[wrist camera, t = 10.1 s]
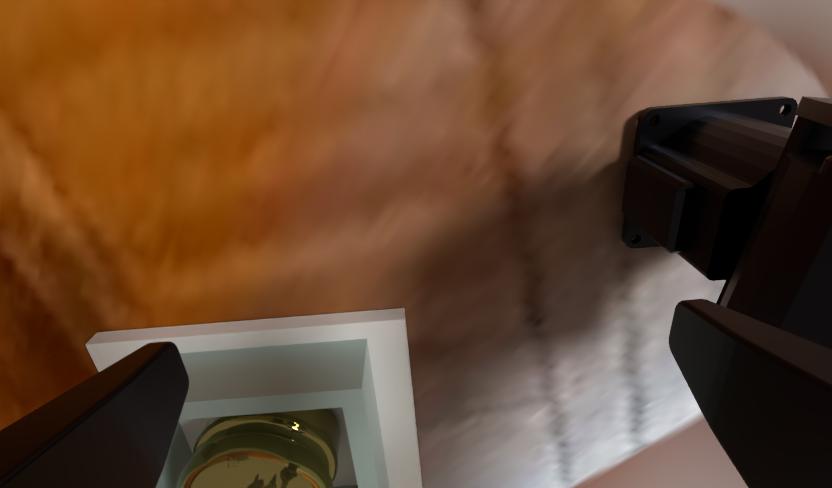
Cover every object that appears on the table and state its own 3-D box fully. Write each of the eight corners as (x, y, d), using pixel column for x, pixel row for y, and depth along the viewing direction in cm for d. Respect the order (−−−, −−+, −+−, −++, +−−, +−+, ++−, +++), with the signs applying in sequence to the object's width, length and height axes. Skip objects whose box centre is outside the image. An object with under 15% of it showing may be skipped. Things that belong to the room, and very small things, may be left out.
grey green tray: (404, 307, 23) (405, 367, 19) (422, 486, 29) (426, 560, 25) (97, 332, 23) (33, 396, 19) (178, 505, 30) (143, 581, 25)
